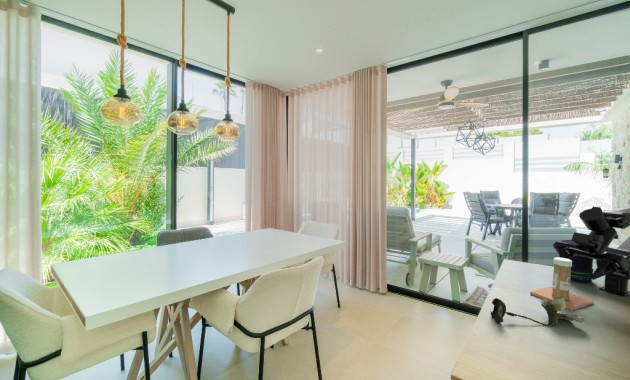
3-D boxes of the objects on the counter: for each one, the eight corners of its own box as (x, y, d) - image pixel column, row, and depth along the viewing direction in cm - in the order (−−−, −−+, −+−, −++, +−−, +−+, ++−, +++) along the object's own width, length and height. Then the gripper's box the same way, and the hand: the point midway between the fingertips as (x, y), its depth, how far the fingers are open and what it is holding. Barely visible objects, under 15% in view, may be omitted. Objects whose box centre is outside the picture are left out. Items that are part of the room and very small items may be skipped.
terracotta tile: (550, 288, 99) (550, 286, 99) (593, 303, 88) (593, 300, 88) (530, 294, 95) (530, 291, 95) (572, 310, 84) (573, 307, 83)
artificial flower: (484, 316, 83) (486, 283, 84) (567, 333, 78) (567, 298, 80) (499, 324, 74) (500, 287, 76) (593, 343, 70) (592, 304, 72)
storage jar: (557, 278, 109) (559, 242, 108) (560, 272, 116) (562, 238, 115) (592, 286, 102) (595, 247, 101) (593, 279, 108) (595, 243, 107)
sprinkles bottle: (568, 302, 87) (570, 262, 86) (549, 297, 90) (552, 258, 89) (570, 298, 90) (573, 259, 89) (553, 293, 93) (555, 255, 92)
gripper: (557, 219, 100) (534, 251, 98) (626, 230, 82) (600, 268, 80) (570, 238, 103) (548, 269, 100) (640, 252, 85) (615, 290, 82)
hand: (574, 273), depth 91 cm, fingers open, 9 cm apart
